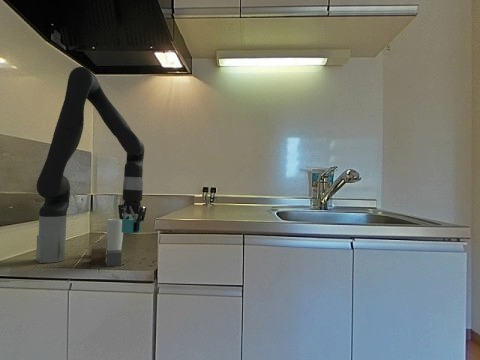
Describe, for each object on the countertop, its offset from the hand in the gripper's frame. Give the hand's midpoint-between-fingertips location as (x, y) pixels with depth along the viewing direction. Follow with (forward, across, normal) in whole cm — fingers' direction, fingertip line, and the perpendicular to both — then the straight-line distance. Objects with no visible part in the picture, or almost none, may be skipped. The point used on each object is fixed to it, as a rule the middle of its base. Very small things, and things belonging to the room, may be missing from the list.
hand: (131, 231), depth 134 cm
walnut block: (+12, -7, -9) cm, 16 cm away
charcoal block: (+12, +1, -8) cm, 14 cm away
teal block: (0, 0, 0) cm, 0 cm away
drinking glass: (+12, -12, +3) cm, 17 cm away
